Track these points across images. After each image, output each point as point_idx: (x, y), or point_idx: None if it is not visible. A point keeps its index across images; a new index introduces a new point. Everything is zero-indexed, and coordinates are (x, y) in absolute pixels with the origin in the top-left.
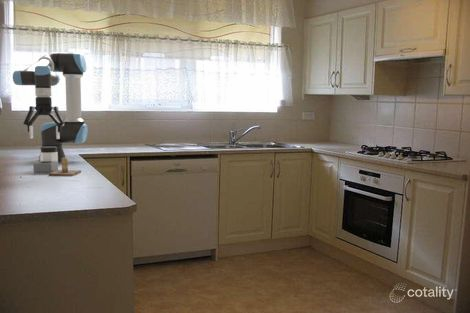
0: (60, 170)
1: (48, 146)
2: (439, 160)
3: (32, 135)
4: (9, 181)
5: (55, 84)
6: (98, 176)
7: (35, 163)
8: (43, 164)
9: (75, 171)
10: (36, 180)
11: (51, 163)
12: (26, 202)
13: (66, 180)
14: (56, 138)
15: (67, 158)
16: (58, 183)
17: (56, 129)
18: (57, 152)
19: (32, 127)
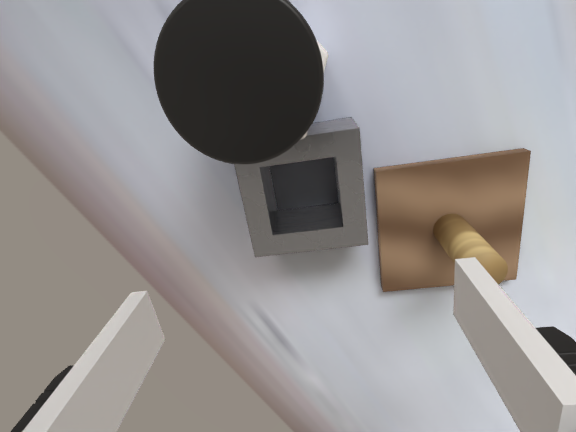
0: (399, 180)
1: (195, 16)
2: None
3: (139, 334)
4: (298, 416)
5: None
6: None
7: (268, 255)
8: (318, 246)
9: (506, 199)
10: (388, 389)
11: (367, 238)
12: None
13: None
14: (458, 319)
15: (506, 266)
16: (503, 426)
17: (522, 420)
18: (327, 57)
19: (75, 421)
